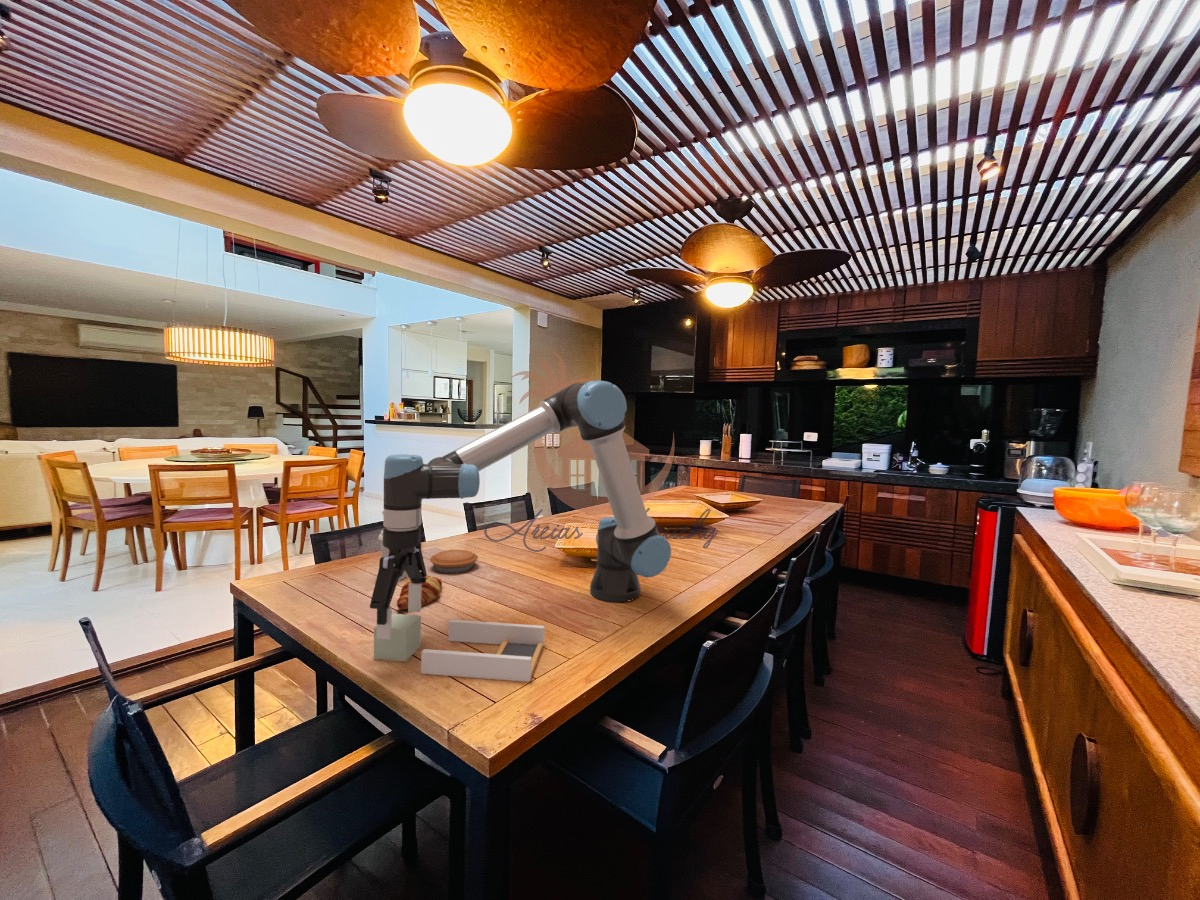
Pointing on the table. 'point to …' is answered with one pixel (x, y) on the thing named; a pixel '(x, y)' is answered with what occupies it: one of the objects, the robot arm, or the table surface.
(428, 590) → the croissant
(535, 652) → the drawer
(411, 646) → the block
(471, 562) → the pie
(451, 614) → the table surface
